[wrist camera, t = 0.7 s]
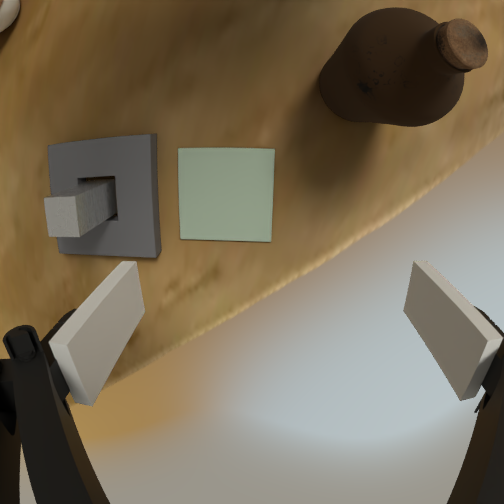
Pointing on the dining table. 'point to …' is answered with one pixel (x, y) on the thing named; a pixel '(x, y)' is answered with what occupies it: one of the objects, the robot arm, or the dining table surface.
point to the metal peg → (80, 208)
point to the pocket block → (127, 192)
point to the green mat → (226, 193)
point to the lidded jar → (8, 12)
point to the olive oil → (401, 68)
